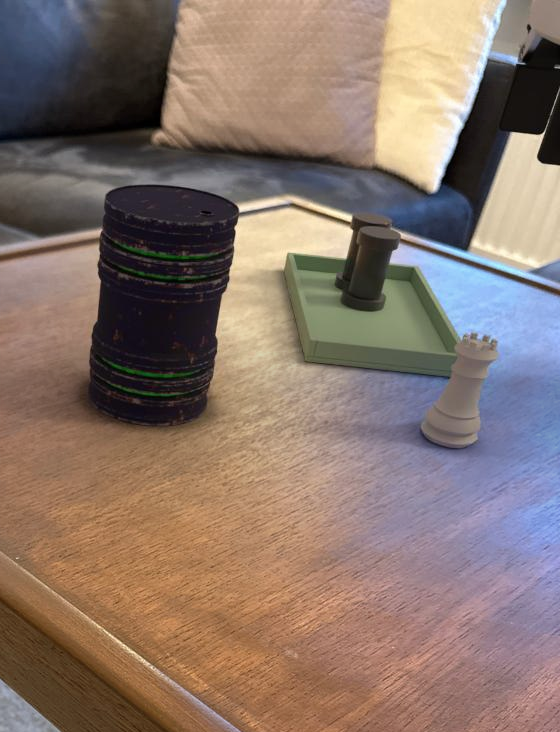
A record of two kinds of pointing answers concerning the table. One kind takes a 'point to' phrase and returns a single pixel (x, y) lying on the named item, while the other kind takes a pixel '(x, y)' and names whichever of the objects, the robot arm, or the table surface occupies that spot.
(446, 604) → the table surface
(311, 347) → the piece tray
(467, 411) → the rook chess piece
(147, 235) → the dark barrel
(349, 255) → the black piece
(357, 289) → the black piece
